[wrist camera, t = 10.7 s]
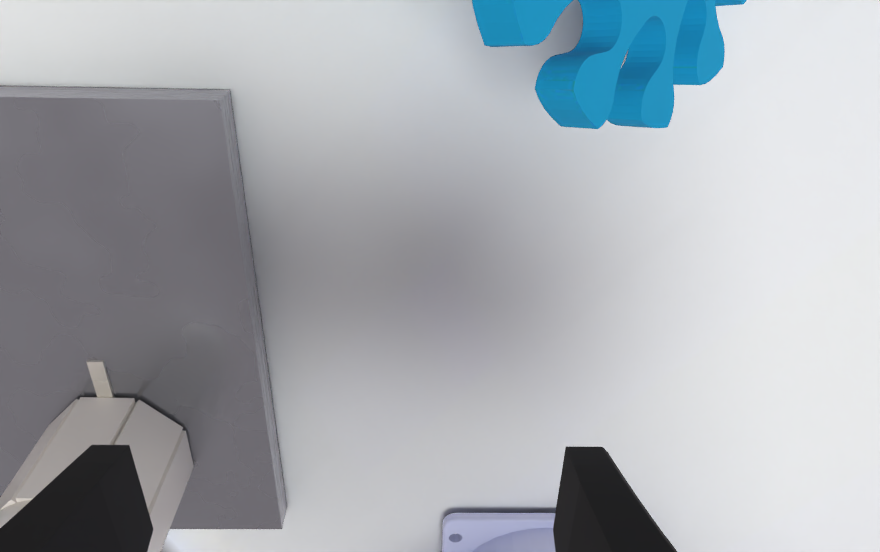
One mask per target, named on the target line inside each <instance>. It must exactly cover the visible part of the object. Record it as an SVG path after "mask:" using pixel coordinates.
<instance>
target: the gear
mask: <svg viewBox="0 0 880 552" xmlns="http://www.w3.org/2000/svg"><path fill="white" fill-rule="evenodd" d="M572 1H573V0H472V3H473V8H474V12H475V16H476V20H477V24H478V27H479V30H480V33H481V36H482V39H483V42H484V45H486V46H490V47H500V46H532V45H536V44H539V43H540V42H542V41H543V40H545V38H546V37H547V36H548V35H549V33H550V32H551V30H552V28H553V26H554V24H555V22H556V20H557V19H558V17H559V16H560V14H561V13H562V12H563V10H564V9H565V7H567V6H568V5H569V4H570V3H571V2H572ZM578 1H579V3H580V5H581V8H582V13H583V29H582V34H581V38H580V40H579V42H578V44H577V46H576V47H575V48H574V49H573V50H572V51H570V52H568V53H563V54H559V55H555V56H552V57H550V58H549V59H548V60H547V61H546V62H545V63H544V65H543V66H542V68H541V70H540V72H539V74H538V77H537V80H536V86H535V90H536V93H537V95H538V98H539V100H540V102H541V104H542V105H543V107H544V109H545V110H546V111H547V112H548V114H549V115H550V116H551V117H552V118H553V119H554V120H555V121H556V122H557V123H558V124H559V125H560V126H564V127H578V128H592V129H598V128H600V127H601V126H602V125H603V124H604V122H605V121H606V120H608V121H609V122H610V123H612V124H615V125H620V126H634V127H650V128H665V127H668V125H669V122H670V120H671V116H672V113H673V107H674V88H673V84H676V85H702V84H706V83H707V82H709V81H710V80H711V79H712V78H713V77H714V76H715V75H716V74H717V73H718V72H719V71H720V70H721V68H722V67H723V62H724V41H723V37H722V34H721V31H720V29H719V25H718V20H717V15H716V7H715V6H723V5H739V4H744V3H745V2H746V0H578ZM628 48H629V49H628ZM627 51H628V54H627V58H626V61H625V63H624V65H623V66H622V68H621V65H622V63H623V60H624V57H625V55H626V53H627ZM620 68H621V69H620Z"/></svg>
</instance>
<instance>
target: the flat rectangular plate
mask: <svg viewBox="0 0 880 552" xmlns="http://www.w3.org/2000/svg"><path fill="white" fill-rule="evenodd" d="M80 397H100V398H135V402H137V401H138V400H141V401H142V402H144V403H146V404H147V405H149V406H150V407H152V408H153V409H155V410H157V411H158V412H160V413H161V414H163V415H164V416H166V417H168V418H169V419H171V420H172V421H174V422H175V423H177V424H179V425H180V426H182V427H183V429H182V430H183V431H186V434H187V438H188V443H189V447H190V452H191V456H192V461H193V465H194V467H193V470H192V472H191V475H190V478H189V480H188V483H187V485H186V488H185V491H184V493H183V496H182V498H181V501H180V503H179V506H178V509H177V511H176V514H175V516H174V519H173V522H172V524H171V527H170V529H282V527H283V522H284V518H285V513H286V509H287V505H286V497H285V490H284V483H283V475H282V468H281V461H280V453H279V446H278V439H277V431H276V424H275V417H274V409H273V402H272V395H271V387H270V380H269V373H268V365H267V358H266V351H265V343H264V336H263V329H262V321H261V314H260V307H259V299H258V292H257V285H256V277H255V270H254V263H253V255H252V248H251V241H250V233H249V226H248V219H247V211H246V204H245V197H244V189H243V182H242V175H241V167H240V160H239V153H238V145H237V138H236V131H235V123H234V116H233V109H232V101H231V94H230V90H209V89H149V88H90V87H31V86H0V497H1V496H2V494H3V493H4V491H5V490H6V488H7V487H8V485H9V484H10V482H11V481H12V479H13V478H14V476H15V475H16V473H17V472H18V470H19V469H20V467H21V466H22V464H23V463H24V461H25V460H26V458H27V457H28V455H29V454H30V452H31V451H32V449H33V448H34V446H35V445H36V443H37V442H38V440H39V439H40V437H41V436H42V434H43V433H44V431H45V430H46V428H47V427H48V425H49V424H51V423H52V422H53V421H54V420H55V419H56V418H57V417H58V416H59V415H60V414H61V413H62V412H63V411H64V410H65V409H66V408H67V407H68V406H69V405H70V404H71V403H72V402H73V401H74V400H76V399H78V400H79V399H80Z"/></svg>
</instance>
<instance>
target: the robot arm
mask: <svg viewBox="0 0 880 552" xmlns="http://www.w3.org/2000/svg"><path fill="white" fill-rule="evenodd" d="M152 533H153V526H152V522H151V519H150V515H149V512H148V508H147V505H146V501H145V498H144V494H143V491H142V487H141V484H140V480H139V477H138V474H137V470H136V467H135V463H134V460H133V456H132V453H131V449H130V446H129V445H91V446H90V447H89V448H88V449H87V450H85V451H84V452H83V453H82V454H81V455H80V456H79V457H78V458H77V459H75V460H74V461H73V462H72V463H71V464H70V465H69V466H68V467H67V468H66V469H65V470H63V471H62V472H61V473H60V474H59V475H58V476H57V477H56V478H55V479H54V480H53V481H51V482H50V483H49V484H48V485H47V486H46V487H45V488H44V489H43V490H42V491H41V492H40V493H38V494H37V495H36V496H35V497H34V498H33V499H32V500H31V501H30V502H29V503H28V504H26V505H25V506H24V507H23V508H22V509H21V510H20V511H19V512H18V513H17V514H16V515H14V516H13V517H12V518H11V519H10V520H9V521H8V522H7V523H6V524H4V525H3V526H2V527H1V528H0V552H147V551H148V547H149V544H150V540H151V537H152ZM455 533H457V534H455ZM442 552H677V551H676V549H675V548H674V547H673V546H672V544H671V543H670V542H669V540H668V539H667V538H666V536H665V535H664V534H663V532H662V531H661V530H660V528H659V527H658V526H657V524H656V523H655V521H654V520H653V519H652V517H651V516H650V515H649V513H648V512H647V510H646V509H645V507H644V506H643V505H642V503H641V502H640V500H639V499H638V497H637V496H636V494H635V493H634V492H633V490H632V489H631V487H630V486H629V484H628V483H627V481H626V480H625V478H624V477H623V475H622V474H621V472H620V471H619V469H618V467H617V466H616V464H615V463H614V461H613V460H612V458H611V457H610V455H609V453H608V452H607V451H606V450H605V449H604V448H603V447H566V450H565V456H564V462H563V469H562V475H561V481H560V488H559V494H558V500H557V507H556V513H451V514H449V515H447V516H446V517H445V518H444V520H443V530H442Z"/></svg>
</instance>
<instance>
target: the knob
mask: <svg viewBox="0 0 880 552" xmlns="http://www.w3.org/2000/svg"><path fill="white" fill-rule="evenodd" d="M182 429H183V427H182V426H180V425H179V424H177V423H175V422H174V421H172V420H171V419H169V418H168V417H166V416H164V415H163V414H161V413H160V412H158V411H157V410H155V409H153V408H152V407H150V406H149V405H147V404H146V403H144V402H142V401H141V400H138V401H137V402H135V398H100V397H80V399H79V400H78V399H76V400H74V401H73V402H72V403H71V404H70V405H69V406H68V407H67V408H66V409H65V410H64V411H63V412H62V413H61V414H60V415H59V416H58V417H57V418H56V419H55V420H54V421H53V422H52V423H51V424H49V425H48V427H47V428H46V430H45V431H44V433H43V434H42V436H41V437H40V439H39V440H38V442H37V443H36V445H35V446H34V448H33V449H32V451H31V452H30V454H29V455H28V457H27V458H26V460H25V461H24V463H23V464H22V466H21V467H20V469H19V470H18V472H17V473H16V475H15V476H14V478H13V479H12V481H11V482H10V484H9V485H8V487H7V488H6V490H5V491H4V493H3V494H2V496H1V497H0V528H1V527H2V526H3V525H4V524H6V523H7V522H8V521H9V520H10V519H11V518H12V517H13V516H14V515H16V514H17V513H18V512H19V511H20V510H21V509H22V508H23V507H24V506H25V505H26V504H28V503H29V502H30V501H31V500H32V499H33V498H34V497H35V496H36V495H37V494H38V493H40V492H41V491H42V490H43V489H44V488H45V487H46V486H47V485H48V484H49V483H50V482H51V481H53V480H54V479H55V478H56V477H57V476H58V475H59V474H60V473H61V472H62V471H63V470H65V469H66V468H67V467H68V466H69V465H70V464H71V463H72V462H73V461H74V460H75V459H77V458H78V457H79V456H80V455H81V454H82V453H83V452H84V451H85V450H87V449H88V448H89V447H90V446H91V445H129V446H130V449H131V453H132V456H133V460H134V463H135V467H136V470H137V474H138V477H139V480H140V484H141V487H142V491H143V494H144V498H145V501H146V505H147V508H148V512H149V515H150V519H151V522H152V526H153V533H152V537H151V540H150V544H149V547H148V551H147V552H161V550H162V548H163V545H164V542H165V540H166V537H167V535H168V532H169V529H170V527H171V524H172V522H173V519H174V516H175V514H176V511H177V509H178V506H179V503H180V501H181V498H182V496H183V493H184V491H185V488H186V485H187V483H188V480H189V478H190V475H191V472H192V470H193V467H194V465H193V461H192V456H191V452H190V447H189V443H188V438H187V434H186V431H183V430H182Z"/></svg>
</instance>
